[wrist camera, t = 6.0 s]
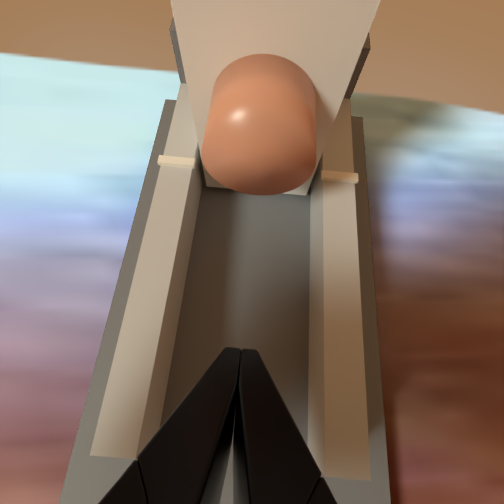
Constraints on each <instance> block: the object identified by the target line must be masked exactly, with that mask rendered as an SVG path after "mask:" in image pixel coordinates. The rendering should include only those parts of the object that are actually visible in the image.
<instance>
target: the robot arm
mask: <svg viewBox="0 0 504 504" xmlns="http://www.w3.org/2000/svg"><path fill="white" fill-rule="evenodd" d="M240 356H241V357H240ZM234 420H235V421H234ZM233 430H234V433H233ZM232 439H233V504H338V503H337V502H336V500H335V498H334V496H333V494H332V492H331V490H330V488H329V486H328V484H327V483H326V481H325V479H324V477H321V471H320V469H319V468H318V466H317V464H316V462H315V460H314V458H313V456H312V454H311V452H310V450H309V448H308V446H307V444H306V442H305V441H304V439H303V437H302V435H301V433H300V431H299V429H298V427H297V425H296V423H295V421H294V419H293V417H292V416H291V414H290V412H289V410H288V408H287V406H286V404H285V402H284V400H283V398H282V396H281V394H280V392H279V390H278V389H277V387H276V385H275V383H274V381H273V379H272V377H271V375H270V373H269V371H268V369H267V367H266V365H265V364H264V362H263V360H262V358H261V356H260V354H259V352H258V351H257V350H256V349H246V348H243V349H242V350H241V349H240V348H236V347H225V348H224V349H223V350H222V351H221V353H220V354H219V355H218V356H217V358H216V359H215V360H214V361H213V363H212V364H211V365H210V366H209V368H208V369H207V370H206V371H205V373H204V374H203V375H202V376H201V378H200V379H199V380H198V381H197V383H196V384H195V385H194V386H193V388H192V389H191V390H190V391H189V393H188V394H187V395H186V396H185V397H184V399H183V400H182V401H181V402H180V404H179V405H178V406H177V407H176V409H175V410H174V411H173V412H172V414H171V415H170V416H169V417H168V419H167V420H166V421H165V422H164V424H163V425H162V426H161V427H160V429H159V430H158V431H157V432H156V434H155V435H154V436H153V437H152V439H151V440H150V441H149V442H148V444H147V445H146V446H145V447H144V448H143V450H142V451H141V452H140V453H139V455H138V456H137V460H134V461H133V462H132V463H131V464H130V466H129V467H128V468H127V469H126V471H125V472H124V473H123V474H122V476H121V477H120V478H119V479H118V481H117V482H116V483H115V484H114V485H113V486H112V488H111V489H110V490H109V491H108V492H107V494H106V495H105V496H104V497H103V498H102V499H101V501H100V502H99V503H98V504H220V499H221V494H222V490H223V485H224V480H225V475H226V470H227V466H228V461H229V456H230V451H231V445H232Z"/></svg>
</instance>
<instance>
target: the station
mask: <svg viewBox="0 0 504 504" xmlns="http://www.w3.org/2000/svg"><path fill="white" fill-rule="evenodd" d="M169 30H170V35H171V39H172V44H173V49H174V53H175V58H176V63H177V67H178V72H179V77H180V81H181V85H180V89H179V93H178V97H177V100H167V99H166V100H165V104H164V108H163V111H162V115H161V119H160V123H159V126H158V130H157V134H156V138H155V141H154V145H153V149H152V153H151V157H150V160H149V164H148V168H147V172H146V175H145V179H144V183H143V187H142V191H141V194H140V198H139V202H138V206H137V209H136V213H135V217H134V221H133V225H132V228H131V232H130V236H129V240H128V243H127V247H126V251H125V255H124V258H123V262H122V266H121V270H120V274H119V277H118V281H117V285H116V289H115V292H114V296H113V300H112V304H111V308H110V311H109V315H108V319H107V323H106V326H105V330H104V334H103V338H102V341H101V345H100V349H99V353H98V357H97V360H96V364H95V368H94V372H93V375H92V379H91V383H90V387H89V391H88V394H87V398H86V402H85V406H84V409H83V413H82V417H81V421H80V425H79V428H78V432H77V436H76V440H75V443H74V447H73V451H72V455H71V458H70V462H69V466H68V470H67V474H66V477H65V481H64V485H63V489H62V492H61V496H60V500H59V504H98V503H99V502H100V501H101V499H102V498H103V497H104V496H105V495H106V494H107V492H108V491H109V490H110V489H111V488H112V486H113V485H114V484H115V483H116V482H117V481H118V479H119V478H120V477H121V476H122V474H123V473H124V472H125V471H126V469H127V468H128V467H129V466H130V464H131V463H132V462H133V461H134V460H137V456H138V455H139V453H140V452H141V451H142V450H143V448H144V447H145V446H146V445H147V444H148V442H149V441H150V440H151V439H152V437H153V436H154V435H155V434H156V432H157V431H158V430H159V429H160V427H161V426H162V425H163V424H164V422H165V421H166V420H167V419H168V417H169V416H170V415H171V414H172V412H173V411H174V410H175V409H176V407H177V406H178V405H179V404H180V402H181V401H182V400H183V399H184V397H185V396H186V395H187V394H188V393H189V391H190V390H191V389H192V388H193V386H194V385H195V384H196V383H197V381H198V380H199V379H200V378H201V376H202V375H203V374H204V373H205V371H206V370H207V369H208V368H209V366H210V365H211V364H212V363H213V361H214V360H215V359H216V358H217V356H218V355H219V354H220V353H221V351H222V350H223V349H224V348H225V347H236V348H240V349H241V350H242V349H243V348H246V349H256V350H257V351H258V352H259V354H260V356H261V358H262V360H263V362H264V364H265V365H266V367H267V369H268V371H269V373H270V375H271V377H272V379H273V381H274V383H275V385H276V387H277V389H278V390H279V392H280V394H281V396H282V398H283V400H284V402H285V404H286V406H287V408H288V410H289V412H290V414H291V416H292V417H293V419H294V421H295V423H296V425H297V427H298V429H299V431H300V433H301V435H302V437H303V439H304V441H305V442H306V444H307V446H308V448H309V450H310V452H311V454H312V456H313V458H314V460H315V462H316V464H317V466H318V468H319V469H320V471H321V477H324V479H325V481H326V483H327V484H328V486H329V488H330V490H331V492H332V494H333V496H334V498H335V500H336V502H337V503H338V504H391V499H390V486H389V472H388V459H387V445H386V432H385V418H384V405H383V391H382V378H381V364H380V350H379V337H378V323H377V310H376V296H375V283H374V269H373V256H372V242H371V229H370V215H369V201H368V188H367V174H366V161H365V147H364V134H363V120H362V117H352V116H351V109H350V97H351V95H352V93H353V90H354V88H355V85H356V83H357V80H358V77H359V75H360V73H361V71H362V68H363V66H364V63H365V61H366V58H367V56H368V53H369V51H370V39H369V32H368V35H367V37H366V40H365V43H364V45H363V48H362V51H361V53H360V56H359V58H358V61H357V64H356V66H355V69H354V71H353V74H352V77H351V79H350V82H349V85H348V87H347V90H346V92H345V95H344V98H343V100H342V103H341V105H340V108H339V111H338V113H337V116H336V119H335V121H334V124H333V126H332V129H331V132H330V134H329V137H328V139H327V142H326V145H325V147H324V150H323V153H322V155H321V158H320V160H319V163H318V166H317V168H316V171H315V173H314V176H313V179H312V181H311V184H310V187H309V189H308V192H307V194H306V196H305V195H295V194H284V193H281V194H276V195H264V196H261V195H250V194H245V193H241V192H237V191H235V190H232V189H229V188H218V187H207V186H206V181H205V176H204V171H203V166H202V161H201V155H200V150H199V145H198V140H197V135H196V130H195V125H194V120H193V114H192V109H191V104H190V99H189V94H188V89H187V84H186V79H185V73H184V68H183V63H182V58H181V53H180V48H179V43H178V38H177V33H176V27H175V22H174V17H173V19H172V23H171V26H170V29H169ZM240 357H241V356H240ZM234 421H235V420H234ZM233 433H234V430H233ZM220 504H233V439H232V445H231V451H230V456H229V461H228V466H227V470H226V475H225V480H224V485H223V490H222V494H221V499H220Z"/></svg>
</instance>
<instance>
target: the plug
mask: <svg viewBox="0 0 504 504" xmlns="http://www.w3.org/2000/svg"><path fill="white" fill-rule="evenodd" d="M380 1H381V0H170V2H171V7H172V11H173V17H174V22H175V27H176V33H177V38H178V43H179V48H180V53H181V58H182V63H183V68H184V73H185V79H186V84H187V89H188V94H189V99H190V104H191V109H192V114H193V120H194V125H195V130H196V135H197V140H198V145H199V150H200V155H201V161H202V166H203V171H204V176H205V181H206V186H207V187H218V188H229V189H232V190H235V191H237V192H241V193H245V194H250V195H261V196H264V195H276V194H281V193H284V194H295V195H305V196H306V194H307V192H308V189H309V187H310V184H311V181H312V179H313V176H314V173H315V171H316V168H317V166H318V163H319V160H320V158H321V155H322V153H323V150H324V147H325V145H326V142H327V139H328V137H329V134H330V132H331V129H332V126H333V124H334V121H335V119H336V116H337V113H338V111H339V108H340V105H341V103H342V100H343V98H344V95H345V92H346V90H347V87H348V85H349V82H350V79H351V77H352V74H353V71H354V69H355V66H356V64H357V61H358V58H359V56H360V53H361V51H362V48H363V45H364V43H365V40H366V37H367V35H368V32H369V29H370V27H371V24H372V22H373V19H374V16H375V14H376V11H377V9H378V6H379V3H380Z"/></svg>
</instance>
